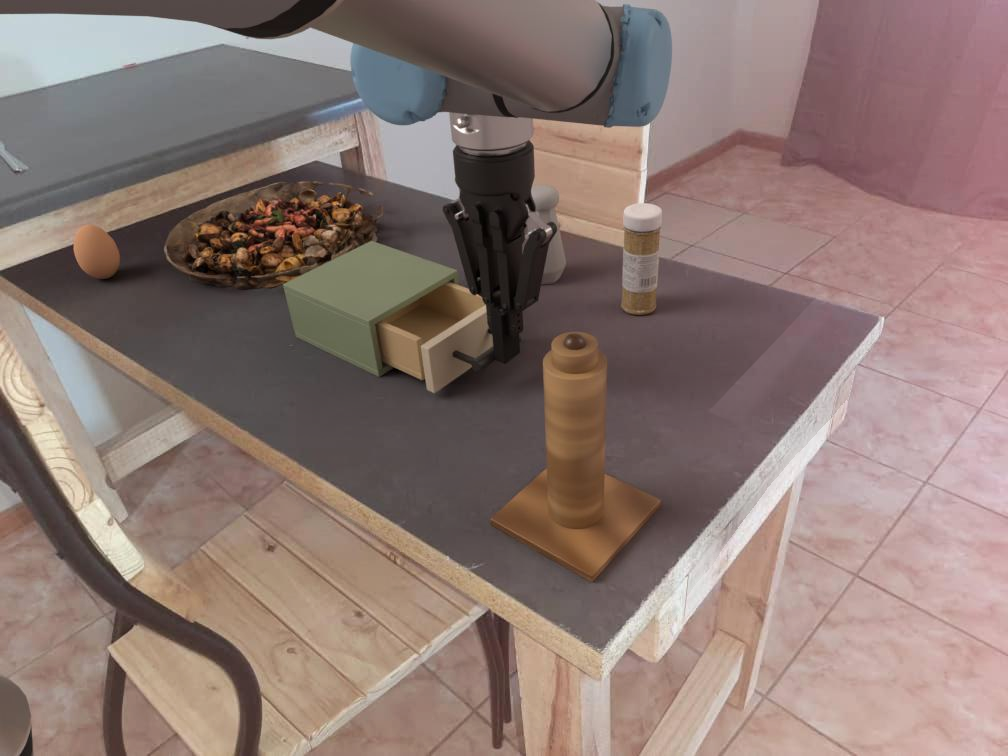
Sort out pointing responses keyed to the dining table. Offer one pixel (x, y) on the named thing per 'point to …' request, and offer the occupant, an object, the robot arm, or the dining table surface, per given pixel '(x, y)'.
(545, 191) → the salt shaker
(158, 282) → the dining table surface
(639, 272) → the spice jar
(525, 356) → the dining table surface
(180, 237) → the food dish
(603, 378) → the pepper mill
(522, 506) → the square wooden board
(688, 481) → the dining table surface
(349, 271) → the cabinet
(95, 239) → the egg
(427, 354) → the drawer
